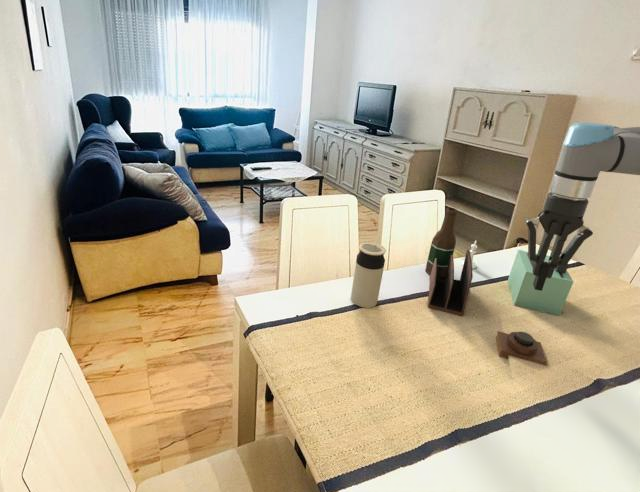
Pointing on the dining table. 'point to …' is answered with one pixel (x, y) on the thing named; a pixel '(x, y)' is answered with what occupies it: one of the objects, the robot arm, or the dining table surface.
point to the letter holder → (450, 287)
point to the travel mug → (368, 274)
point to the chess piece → (472, 254)
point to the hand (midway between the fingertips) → (537, 287)
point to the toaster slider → (561, 268)
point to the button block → (519, 348)
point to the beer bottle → (443, 244)
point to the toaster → (533, 299)
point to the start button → (524, 338)
